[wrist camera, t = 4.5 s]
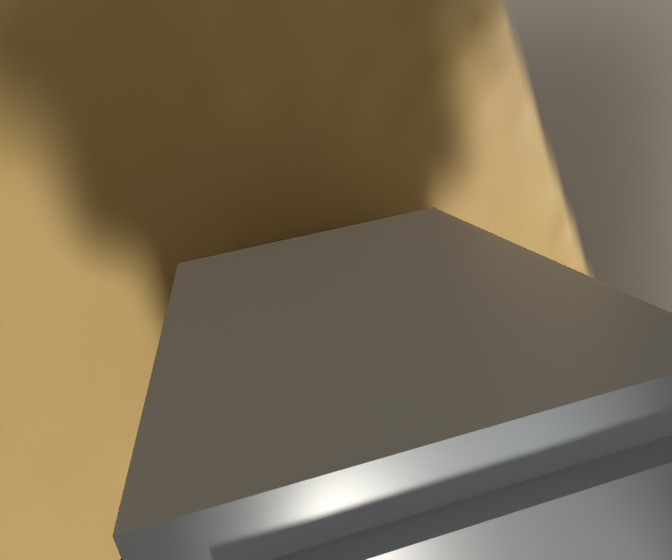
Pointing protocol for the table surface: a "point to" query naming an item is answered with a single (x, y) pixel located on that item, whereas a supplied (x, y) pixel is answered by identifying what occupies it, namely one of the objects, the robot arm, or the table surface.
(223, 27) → the table surface
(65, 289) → the table surface
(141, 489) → the grey paneled block
